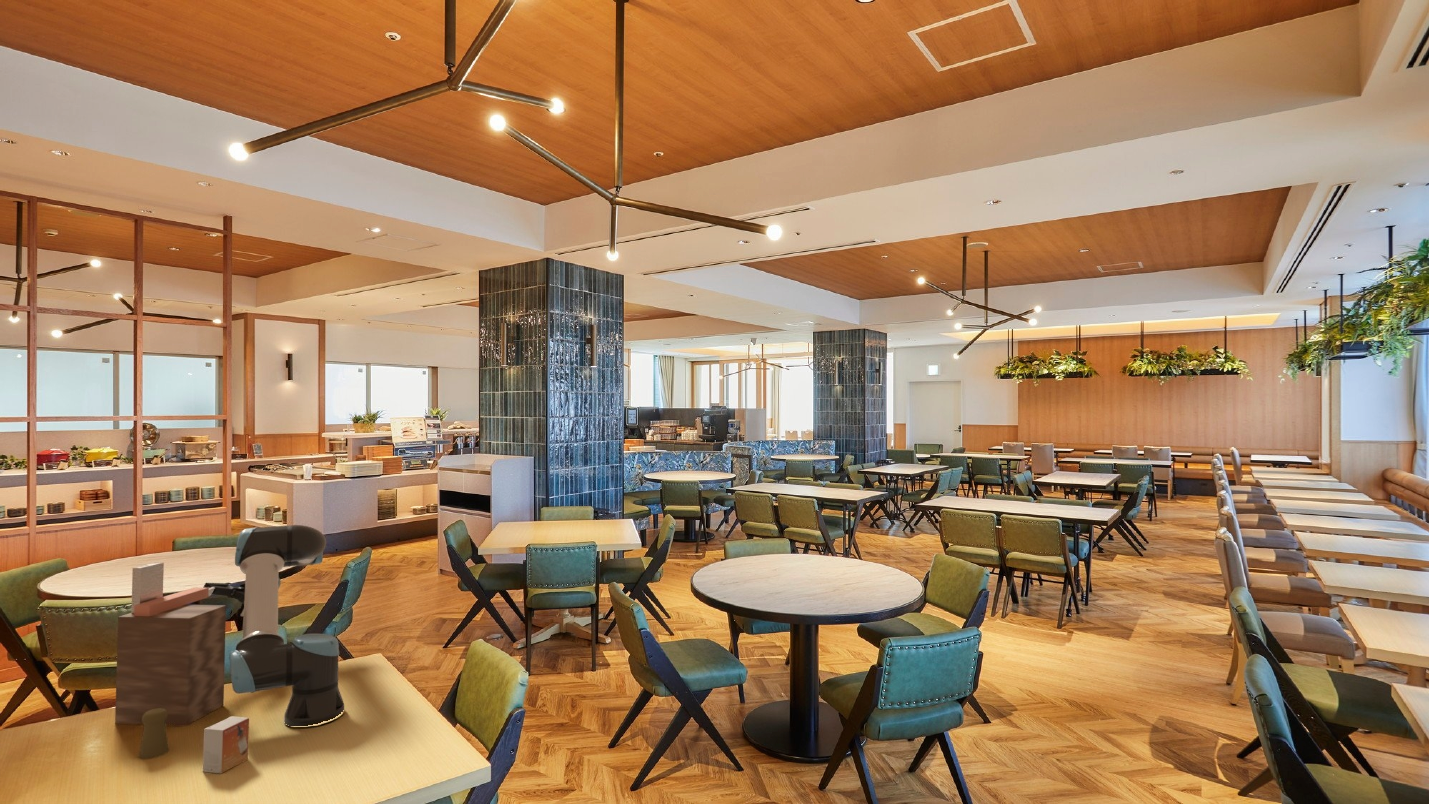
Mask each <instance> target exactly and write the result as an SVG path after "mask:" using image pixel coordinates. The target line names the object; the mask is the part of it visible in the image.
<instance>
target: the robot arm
mask: <svg viewBox="0 0 1429 804" xmlns="http://www.w3.org/2000/svg"><path fill="white" fill-rule="evenodd" d="M236 542H237V543H236V550H235V554H234V564H235V565H234V566H236V567H238V568H239V569H240V572H241V573H243V574H245V579H244V580H245V582H243V583H241V584H239V585H238V586H231V585H232V583H231V582H225V583H224V582H205V583H204V586H203V587H202V588H209V593H208V597H210V596H212V595H214V596H215V595H217V596H225V597H228V598H229V599H235V600H237V601H238V603H241V604H243V606H244V607H243V609H242V612H241V613H240V614H239V615H240V617H243V626H242V639H241V640H239V641H238V643H236V646H235V649H234V650H232V651H230V652H229V655H228V656H229V668H230V680H231V687H232V690H233V692H234V693H235V694H246V693H247V694H249V693H251V694H253V693H256V692H261V691H266V690H267V691H268V690H273V689H278V688H279V689H280V688H284V687H291V686H292V687H291V696H290V698H289V702H288V705H287V707H286V709H285V713H284V718H283V719H284V720H283V721H284V722H285V723H284V722H283V723H284V725H285V724H287V725H289V726H308V725H313V724H318V723H321V722H323V721H328V720H330V719H333V718H335V717H336V716H338V715H339V714H341V712H343V710H344V711H345V703H344V700H343V697H342V694H341V691H340V688H339V655H340V650H339V648H340V647H339V640H338V639H337V637H335V635H334V636H333V635H331V634H325V633H305V634H302V635H297V636H295V637H294V638H293V640H292V642H290V643H289V642H288V643H285V641H284V637H282V636H281V635H280V634H279V589H280V587H281V584H282V581H281V578H280V576H279V572H280V571H281V570H282V569H283V568H287V567H297V566H298V567H301V566H313V565H318V564H319V565H320V564H322V562H323V558H324V557H323V556H324V551H325V549H326V545H327V540H326V536H325V535H324V534H323V533H322V532H321V531H320V530H318V529H316V528H314V527H312V526H311V527H310V526H308V525H300V524H292V525H279V526H263V527H259V526H255V527H249V528H244V529H243V530H241V531H240V532H239V535H238V537H237V541H236Z"/></svg>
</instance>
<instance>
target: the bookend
mask: <svg viewBox="0 0 1429 804" xmlns="http://www.w3.org/2000/svg"><path fill="white" fill-rule="evenodd" d="M164 565H165V562H162V561H161V562H159V561H158V562H151V563H149V564H148V563H147V564H144V565H139V566H135V567H132V577H131V578H132V579H131V582H132V584H131V607H130V609H131V612H130V613H134V605H138V604H141V603H144V602H148V601H151V600H154V599H158V598H161V597H164V569H165V567H164Z"/></svg>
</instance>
